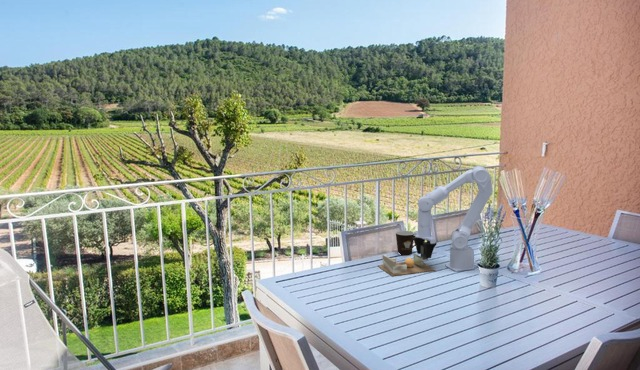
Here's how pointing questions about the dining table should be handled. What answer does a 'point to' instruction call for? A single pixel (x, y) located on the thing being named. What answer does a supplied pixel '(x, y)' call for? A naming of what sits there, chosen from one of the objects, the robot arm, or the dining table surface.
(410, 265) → the ball
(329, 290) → the dining table surface
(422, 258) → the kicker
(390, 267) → the brown piece
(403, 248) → the coffee mug
